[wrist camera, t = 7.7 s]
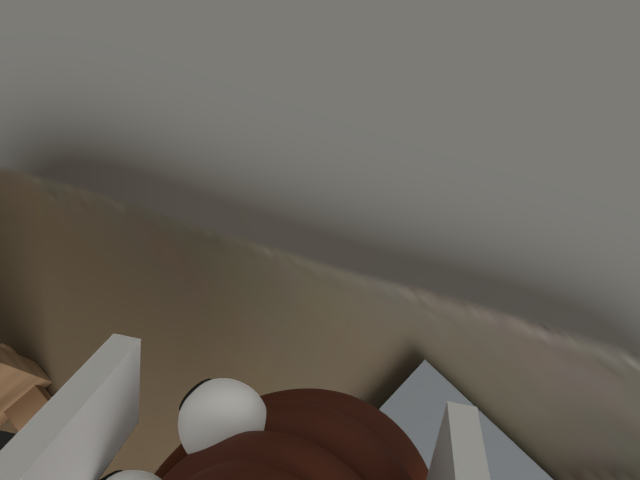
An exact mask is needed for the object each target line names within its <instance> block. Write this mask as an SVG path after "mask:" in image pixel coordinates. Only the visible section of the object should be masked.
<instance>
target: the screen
mask: <svg viewBox="0 0 640 480" xmlns="http://www.w3.org/2000/svg"><path fill="white" fill-rule="evenodd" d="M51 383H52V381H51V380H50V379H49V378H48V376H47V375H46V374H45V373H44V371H43V370H42V369H41V368H40V366H39V365H38V364H37V363H36V362H35V361H32V360H30V359H28V358H25V357H23V356H20V355H18V354H17V353H16V351H15V350H14V349H13V348H12V347H10V346H8V345H5V344H3V343H1V344H0V426H2V425H3V424H4V423H5V422H6V421H7V420H10V421H11V422H12V424H13V425H14V426H15V428H16V429H17V430H18V432H19V431H20V430H21V429H22V428H23V427H24V426H25V425H26V424H27V423H28V421H29V420H30V419H31V418H32V417H33V416H34V415H35V414H36V413H37V412H38V411H39V410H40V409H41V408H42V407H43V406H44V405H45V404H46V403H47V402H48V401H49V400H50V399H51V398H52V397H51V396H50V394H49V393H48V392H47V391H46V389H45V388H46V387H47V386H48V385H49V384H51Z"/></svg>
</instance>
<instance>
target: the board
mask: <svg viewBox="0 0 640 480" xmlns="http://www.w3.org/2000/svg"><path fill="white" fill-rule="evenodd" d="M447 401H450V402H455V403H460V404H465V405H470V406H474V405H473V404H472V403H471V402H470V401H469V400H468V399H467V398H466V397H464V396H463V395H462V394H461V393H460V392H459V391H458V390H457V389H456V388H455V387H454V386H453V385H452V384H451V383H450V382H448V381H447V380H446V379H445V378H444V377H443V376H442V375H441V374H440V373H439V372H438V371H437V370H436V369H435V368H433V367H432V366H431V365H430V364H429V363H428V362H427V361H426V360H424V361H423V362H422V363H421V364H420V365H419V367H418V368H417V369H416V370H415V371H414V372H413V373H412V374H411V375H410V376H409V377H408V378H407V380H406V381H405V382H404V383H403V384H402V385H401V386H400V387H399V388H398V389H397V390H396V391H395V392H394V394H393V395H392V396H391V397H390V398H389V399H388V400H387V401H386V402H385V403H384V404H383V405H382V407H381V408H380V409H379V410H380V411H382V412H383V413H384V414H386V415H387V416H388V417H389V418H391V419H392V420H393V421H394V422H395V423H396V424H397V425H398V426H399V427H400V428H401V429H402V430H403V431H404V432H405V433H406V434H407V436H408V437H409V438H410V439H411V441H412V442H413V444H414V445H415V446H416V448H417V450H418V451H419V453H420V454H421V456H422V458H423V460H424V462H425V464H426V466H427V468H428V470H429V468H430V464H431V460H432V456H433V452H434V449H435V445H436V441H437V437H438V434H439V430H440V426H441V422H442V418H443V415H444V411H445V407H446V403H447ZM478 415H479V420H480V425H481V431H482V436H483V442H484V447H485V453H486V458H487V463H488V469H489V474H490V480H553V479H552V478H551V477H550V476H549V475H548V474H547V473H546V472H545V471H544V470H543V469H541V468H540V467H539V466H538V465H537V464H536V463H535V462H534V461H533V460H532V459H531V458H530V457H529V456H528V455H527V454H525V453H524V452H523V451H522V450H521V449H520V448H519V447H518V446H517V445H516V444H515V443H514V442H513V441H512V440H510V439H509V438H508V437H507V436H506V435H505V434H504V433H503V432H502V431H501V430H500V429H499V428H498V427H497V426H495V425H494V424H493V423H492V422H491V421H490V420H489V419H488V418H487V417H486V416H485V415H484V414H483V413H482V412H481V411H479V410H478Z"/></svg>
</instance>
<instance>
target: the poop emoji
mask: <svg viewBox="0 0 640 480" xmlns="http://www.w3.org/2000/svg"><path fill="white" fill-rule="evenodd" d="M179 410H180V413H179V417H178V432H179V437H180V440H181V443H182V444H181V445H180V446H179V447H178V448H177V449H176V450H175V451H174V452H173V453H172V454H171V455H170V456H169V457H168V458H167V459H166V460H165V461H164V462H163V464H162V465H161V466H160V467H159V469H158V470H157V471H156V472H155V474H152V473H149V472H146V471H141V470H126V471H122V470H118V471H115V472H112V473H110V474H108V475H106V476H105V477H103V478H102V479H101V480H426V479H427V475H428V471H429V470H428V468H427V466H426V464H425V462H424V460H423V458H422V456H421V454H420V453H419V451H418V450H417V448H416V446H415V445H414V444H413V442H412V441H411V439H410V438H409V437H408V436H407V434H406V433H405V432H404V431H403V430H402V429H401V428H400V427H399V426H398V425H397V424H396V423H395V422H394V421H393V420H392V419H391V418H389V417H388V416H387V415H386V414H384V413H383V412H382V411H380V410H379V409H377V408H376V407H374V406H372V405H371V404H369V403H367V402H365V401H363V400H361V399H358V398H356V397H353V396H350V395H347V394H344V393H340V392H336V391H331V390H324V389H292V390H284V391H279V392H274V393H270V394H266V395H262V396H259V395H258V394H257V393H256V392H255V391H254V390H253V389H252V388H251V387H249V386H248V385H246V384H244V383H242V382H240V381H237V380H234V379H229V378H217V379H206V380H204V381H202V382H200V383H198V384H197V385H196V386H194V387H193V388H192V389H191V390H190V391H189V392H188V393H187V394H186V396H185V397H184V398H183V400H182V402H181V404H180V408H179Z"/></svg>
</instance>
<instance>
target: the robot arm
mask: <svg viewBox="0 0 640 480" xmlns="http://www.w3.org/2000/svg"><path fill="white" fill-rule="evenodd" d="M140 349H141V339H139V338H134V337H129V336H124V335H119V334H113V335H112V336H111V337H110V338H109V339H108V340H107V341H106V342H105V343H104V344H103V345H102V346H101V347H100V348H99V349H98V350H97V351H96V352H95V353H94V354H93V355H92V356H91V357H90V358H89V360H88V361H87V362H86V363H85V364H84V365H83V366H82V367H81V368H80V369H79V370H78V371H77V372H76V373H75V374H74V375H73V376H72V377H71V378H70V379H69V380H68V381H67V382H66V383H65V384H64V385H63V386H62V387H61V388H60V389H59V390H58V392H57V393H56V394H55V395H54V396H53V397H52V398H51V399H50V400H49V401H48V402H47V403H46V404H45V405H44V406H43V407H42V408H41V409H40V410H39V411H38V412H37V413H36V414H35V415H34V416H33V417H32V418H31V419H30V420H29V421H28V423H27V424H26V425H25V426H24V427H23V428H22V429H21V430H20V431H19V432H18V433H17V434H14V433H9V432H5V431H0V480H99V479H100V477H101V476H102V474H103V473H104V471H105V470H106V468H107V467H108V465H109V464H110V463H111V461H112V460H113V458H114V457H115V455H116V454H117V452H118V451H119V449H120V448H121V447H122V445H123V444H124V442H125V441H126V439H127V438H128V436H129V435H130V433H131V432H132V430H133V429H134V428H135V426H136V425H137V423H138V422H139V388H140ZM426 480H490V474H489V469H488V463H487V458H486V453H485V447H484V442H483V436H482V431H481V425H480V420H479V415H478V409H477V407H475V406H470V405H465V404H460V403H455V402H450V401H447V403H446V407H445V411H444V415H443V418H442V422H441V426H440V430H439V434H438V437H437V441H436V445H435V449H434V452H433V456H432V460H431V464H430V468H429V471H428V475H427V479H426Z"/></svg>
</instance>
